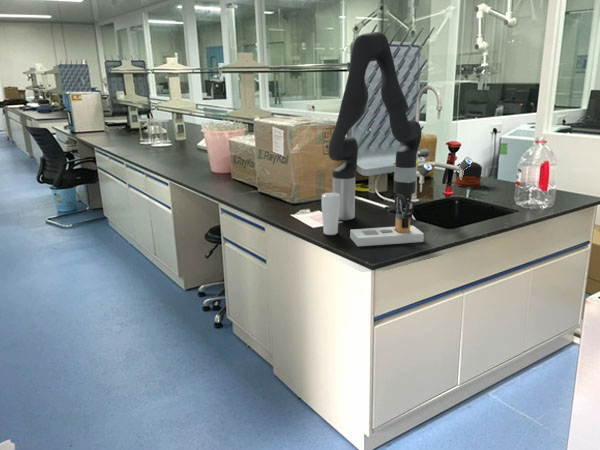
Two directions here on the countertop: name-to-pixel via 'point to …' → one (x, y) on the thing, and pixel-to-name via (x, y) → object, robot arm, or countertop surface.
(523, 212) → the countertop surface
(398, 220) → the plug
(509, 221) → the countertop surface
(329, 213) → the drinking glass
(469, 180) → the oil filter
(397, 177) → the robot arm
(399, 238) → the pdu strip
